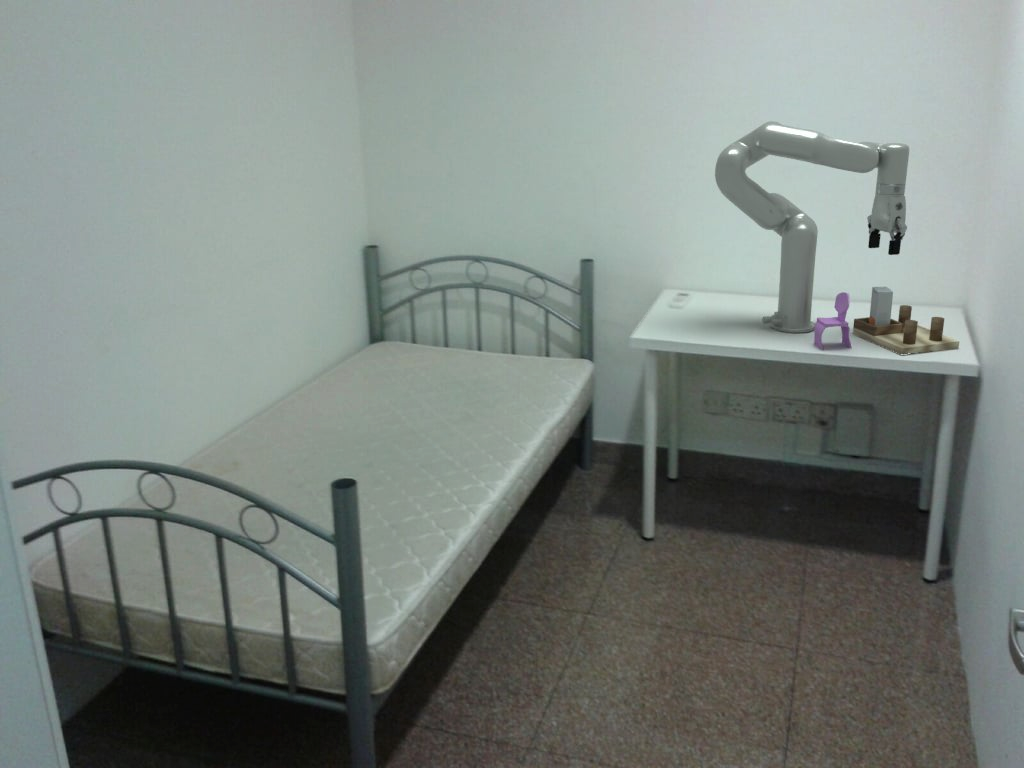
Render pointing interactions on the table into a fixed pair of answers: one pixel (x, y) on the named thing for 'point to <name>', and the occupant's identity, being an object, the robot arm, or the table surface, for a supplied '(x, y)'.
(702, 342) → the table surface
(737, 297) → the table surface
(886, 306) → the skincare box
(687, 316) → the table surface
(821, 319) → the toy chair
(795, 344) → the table surface
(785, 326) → the robot arm
